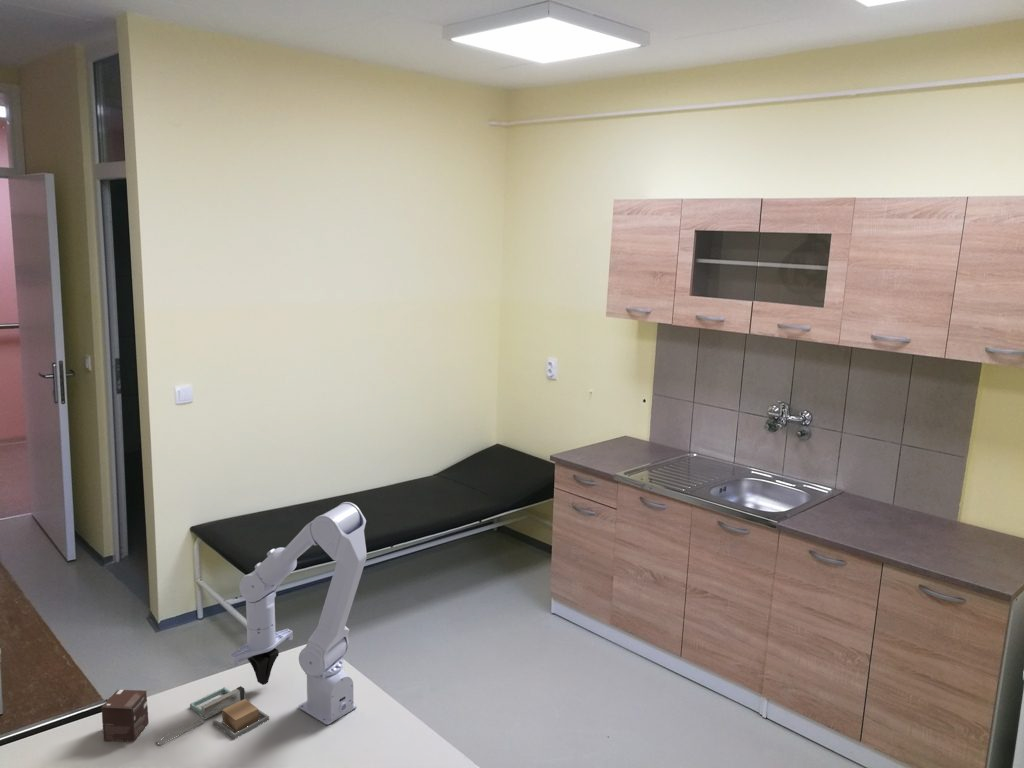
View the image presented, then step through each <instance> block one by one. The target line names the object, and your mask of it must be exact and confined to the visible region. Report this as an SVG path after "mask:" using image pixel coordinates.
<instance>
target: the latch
mask: <svg viewBox="0 0 1024 768" xmlns="http://www.w3.org/2000/svg"><path fill="white" fill-rule="evenodd" d="M230 691H231V692H229V693H227V694H226V693H224V694H223V695H221V696H219V697H217V698H215V699H212V700H211V701H209V702H207V703H205V704H202V705H201V706H200V707H201V708H200V709H201V710H202V715H201V718H203V719H204V720H206V719H209V718H210V717H213V716H214V715H216V714H219V713H220V712H222V710H223V709H225V708H227V707H229V706H231V705H233V704H235V703H237V702H239V701H241V700H243V699H246V697H245V694H246V693H245V687H243V686H241V685H240V686H237V687H236V688H235V689H232V690H230Z"/></svg>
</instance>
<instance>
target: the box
mask: <svg viewBox="0 0 1024 768" xmlns="http://www.w3.org/2000/svg"><path fill="white" fill-rule="evenodd" d="M147 696H148V695H147V690H142V689H141V690H137V689H136V690H133V689H131V690H130V689H117V690H116V691H115V692H114V693H113V694H112V695H111V696H110V697H109V698H108V699H107V701H106V702H104V704H103V705H102V706H101V719H102V731H103V732H102V733H103V741H105V742H128V743H132V742H133V743H134V742H135V741H136V740H137V739H138V738H137V737H140V735H141V734H142V733H143V731H145V730H146V728H147V726H148V725H149V712H148V711H149V710H148V708H149V707H148V697H147ZM145 727H146V728H145ZM141 732H142V733H141Z"/></svg>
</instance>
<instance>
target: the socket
mask: <svg viewBox="0 0 1024 768" xmlns="http://www.w3.org/2000/svg"><path fill="white" fill-rule="evenodd" d="M258 714H259V715H260V716H259V717H260V718H261V719H259V721H257V722H255V723H253V724H251V725H250V726H248V727H246V728H244V729H242V730H240V731H239V732H237V733H236V732H234V731H233V730H232V729H231V728H229V727H228V726H227V727H226V725H225V724H222V723H221V722H219V721H218V720H217V719H213V720H212V722H213V723H212V724H213V725H214V724H215V726H216V727H217V726H218V727H219V729H220V730H221V729H222V732H224V731H225V732H224V733H226V735H228V734H229V735H228V736H230V737H231V736H232V737H231V738H232V739H235V738H236V739H237V738H239V737H241V736H243V735H245V734H246V733H248V732H249V731H252V730H253V728H254V729H255V728H257V727H258V725H259V726H261V725H262V723H263V722H264V723H266V722H268V721H270V716H269V715H268V714H266V713H264V712H263V711H261V709H258ZM262 717H263V718H262ZM267 720H268V721H267ZM202 723H203V724H204V721H203V720H201V719H200V718H198V719H197V720H195V721H192V722H191V723H189V724H187V725H185V726H183V727H180V728H179V729H177V730H174V731H173V732H170V733H169V734H167V735H165V736H163V737H164V738H163V737H161V738H159V739H157V740H155V743H156V742H157V743H159V746H162V745H163V743H164V744H165V742H166V741H168V740H170V739H172V738H174V737H176V736H178V735H179V736H181V735H183V734H185V733H187V732H189V731H191V730H193V729H195V728H196V726H197V727H199V726H200V725H202ZM264 723H263V724H264ZM260 724H261V725H260ZM198 725H199V726H198ZM194 727H195V728H194ZM218 727H217V728H218ZM192 728H193V729H192ZM190 729H191V730H190ZM251 729H252V730H251ZM188 730H189V731H188ZM186 731H187V732H186ZM184 732H185V733H184ZM182 733H183V734H182ZM180 734H181V735H180ZM242 734H243V735H242ZM179 736H178V737H179ZM238 736H239V737H238ZM162 738H163V739H162ZM176 738H177V737H176ZM161 739H162V740H161ZM174 739H175V738H174ZM172 740H173V739H172ZM170 741H171V740H170ZM168 742H169V741H168ZM157 743H156V744H157ZM166 743H167V742H166ZM161 744H162V745H161Z"/></svg>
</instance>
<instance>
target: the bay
mask: <svg viewBox="0 0 1024 768" xmlns="http://www.w3.org/2000/svg"><path fill="white" fill-rule="evenodd" d="M231 691H232V690H230V689H228V688H226V687H221V688H219V689H218V690H215V691H214V692H211V693H210V694H207V695H205V696H203V697H202V698H200V699H199V698H198V699H197V700H195V701H193V702H191V703H190V704H189V707H190V708H191V709H192V710H194V711H195V712H196V713H198V715H200V716H202V710H201V708H200V707H198V705H200V704H203V703H205V702H206V701H209V700H211V699H214V698H215V697H217V696H218V695H221V694H223V693H224V694H227V693H229V692H231Z"/></svg>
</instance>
